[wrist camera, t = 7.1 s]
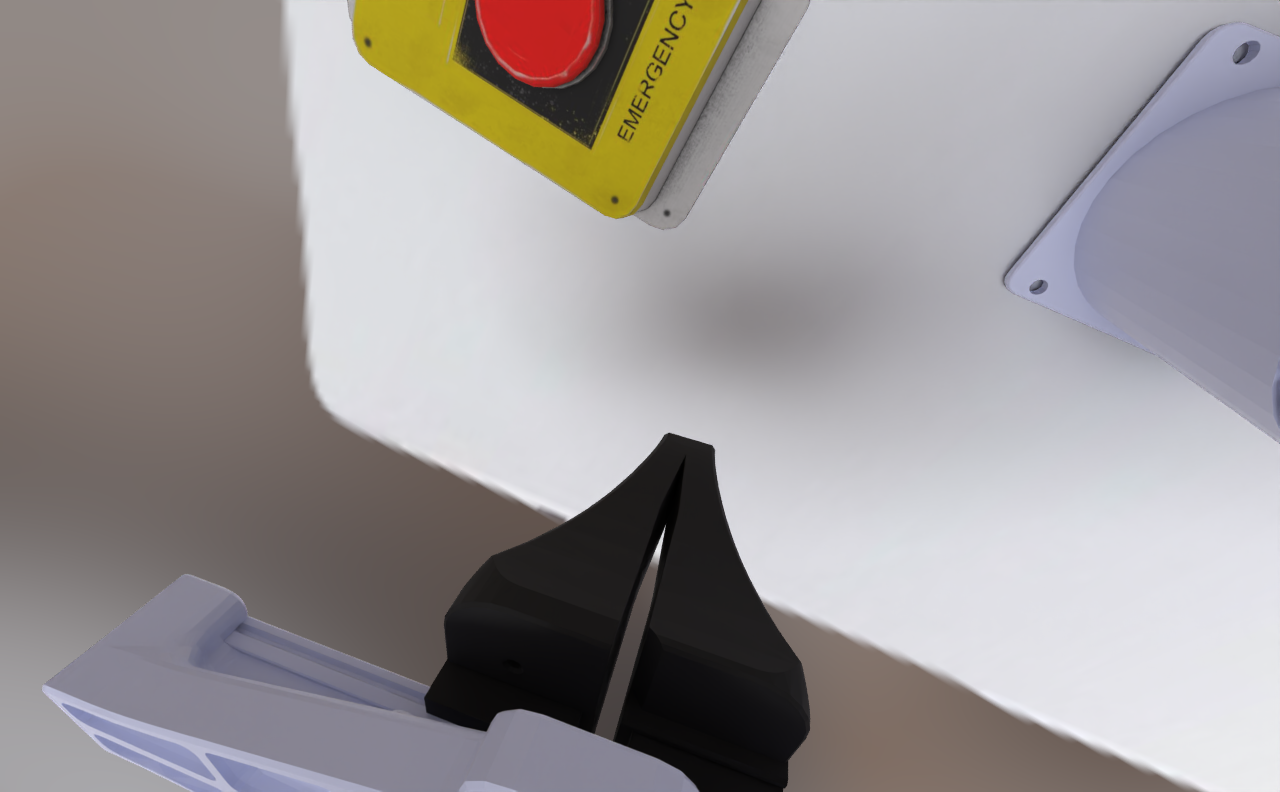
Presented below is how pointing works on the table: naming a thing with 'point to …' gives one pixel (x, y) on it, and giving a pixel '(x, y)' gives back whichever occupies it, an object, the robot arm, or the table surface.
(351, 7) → the emergency button
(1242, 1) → the table surface
